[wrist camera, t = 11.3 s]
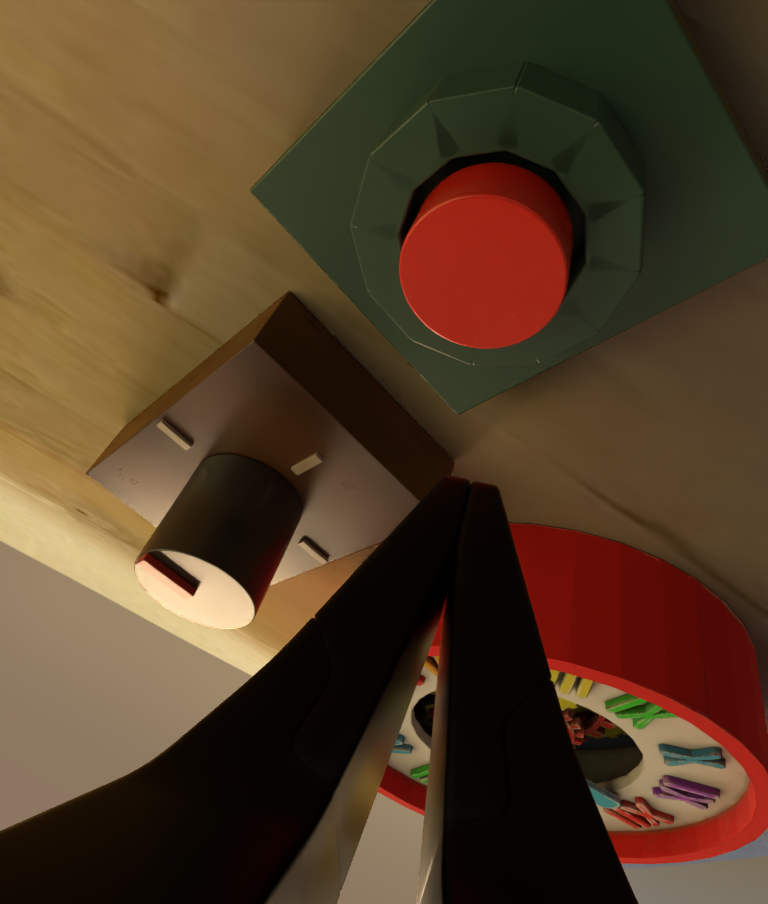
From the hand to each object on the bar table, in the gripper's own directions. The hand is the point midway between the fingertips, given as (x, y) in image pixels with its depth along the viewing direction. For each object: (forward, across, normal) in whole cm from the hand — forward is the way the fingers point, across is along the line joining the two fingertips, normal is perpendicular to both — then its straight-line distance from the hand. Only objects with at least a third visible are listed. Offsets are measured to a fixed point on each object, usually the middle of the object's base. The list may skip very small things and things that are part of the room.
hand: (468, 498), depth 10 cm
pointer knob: (+8, +9, +11) cm, 16 cm away
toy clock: (+11, -4, +23) cm, 26 cm away
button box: (+11, +1, 0) cm, 11 cm away
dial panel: (+11, +9, +12) cm, 18 cm away
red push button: (+8, +1, -1) cm, 8 cm away
